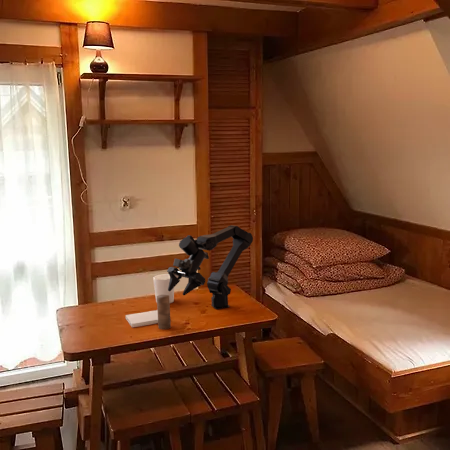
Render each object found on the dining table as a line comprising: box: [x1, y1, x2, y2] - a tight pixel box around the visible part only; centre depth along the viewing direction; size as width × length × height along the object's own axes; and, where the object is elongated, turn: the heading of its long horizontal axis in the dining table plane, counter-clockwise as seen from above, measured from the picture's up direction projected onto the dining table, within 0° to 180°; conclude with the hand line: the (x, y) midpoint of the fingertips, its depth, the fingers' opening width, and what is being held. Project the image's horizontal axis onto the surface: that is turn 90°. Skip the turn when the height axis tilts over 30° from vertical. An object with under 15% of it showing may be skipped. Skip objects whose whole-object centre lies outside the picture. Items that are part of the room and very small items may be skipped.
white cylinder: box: [152, 273, 175, 304], centre depth 250 cm, size 10×10×12 cm
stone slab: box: [125, 309, 158, 328], centre depth 227 cm, size 16×12×2 cm
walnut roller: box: [156, 295, 172, 330], centre depth 216 cm, size 5×5×13 cm
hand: (175, 292), depth 220 cm, fingers open, 9 cm apart
